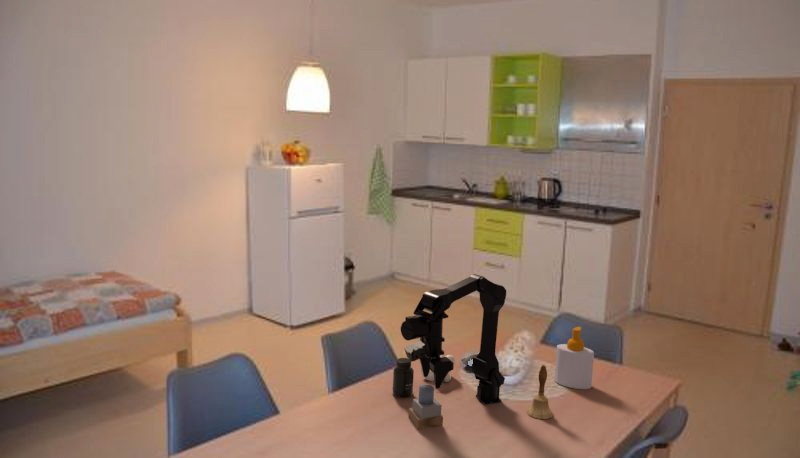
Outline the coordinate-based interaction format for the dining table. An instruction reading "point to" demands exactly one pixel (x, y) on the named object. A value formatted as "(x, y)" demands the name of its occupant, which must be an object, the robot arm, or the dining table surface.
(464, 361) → the seashell
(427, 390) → the grey rounded cylinder
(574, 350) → the soap bottle
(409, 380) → the supplement bottle
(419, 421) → the walnut slab
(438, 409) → the grey slab
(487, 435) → the dining table surface
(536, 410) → the hand bell
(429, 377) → the white knot sculpture
